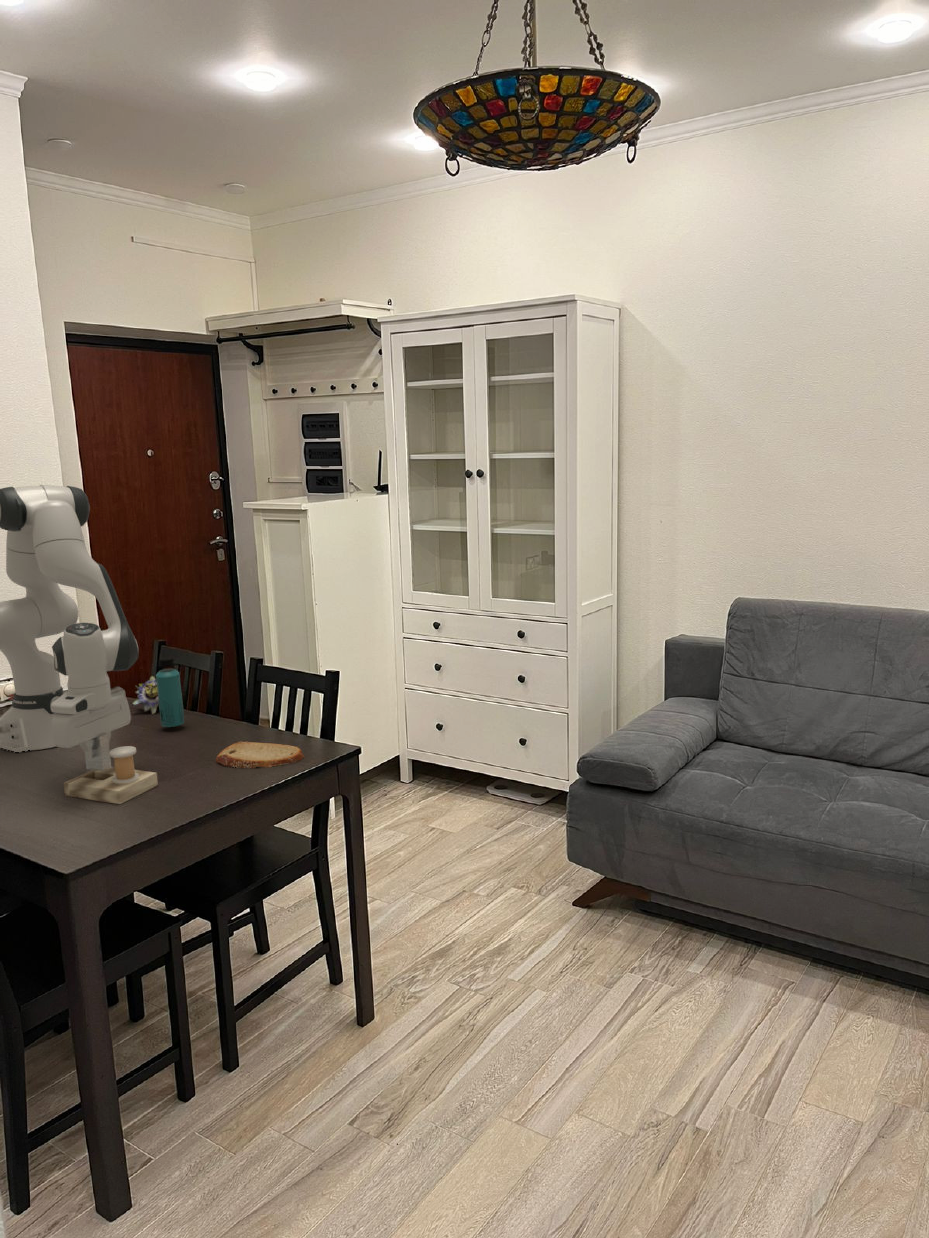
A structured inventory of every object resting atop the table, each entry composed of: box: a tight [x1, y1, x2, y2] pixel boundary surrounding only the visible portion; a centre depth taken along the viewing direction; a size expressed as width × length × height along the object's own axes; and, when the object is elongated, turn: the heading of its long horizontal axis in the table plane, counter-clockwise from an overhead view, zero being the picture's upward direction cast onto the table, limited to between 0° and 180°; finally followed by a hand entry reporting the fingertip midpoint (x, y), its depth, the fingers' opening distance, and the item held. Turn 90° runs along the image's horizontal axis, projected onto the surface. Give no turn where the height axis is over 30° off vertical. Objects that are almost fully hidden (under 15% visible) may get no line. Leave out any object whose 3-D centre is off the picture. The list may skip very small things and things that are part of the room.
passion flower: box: [131, 675, 159, 715], centre depth 278 cm, size 11×11×12 cm
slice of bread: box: [214, 740, 305, 769], centre depth 232 cm, size 18×18×4 cm
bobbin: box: [109, 745, 139, 785], centre depth 211 cm, size 6×6×7 cm
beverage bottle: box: [155, 656, 186, 728], centre depth 257 cm, size 6×7×20 cm
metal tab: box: [84, 733, 112, 771], centre depth 214 cm, size 5×2×8 cm, turn 67°
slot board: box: [63, 766, 159, 805], centre depth 214 cm, size 16×12×3 cm
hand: (97, 755), depth 214 cm, fingers closed on metal tab, 2 cm apart
